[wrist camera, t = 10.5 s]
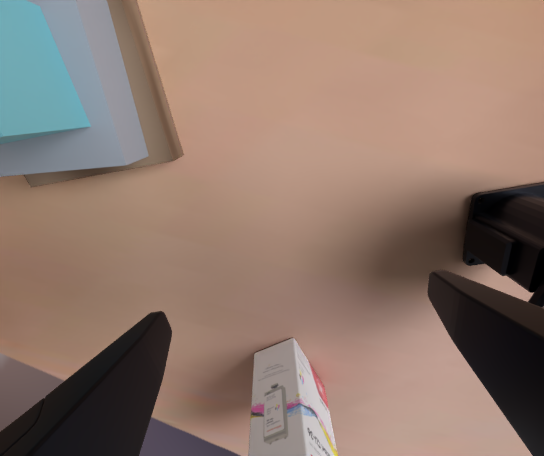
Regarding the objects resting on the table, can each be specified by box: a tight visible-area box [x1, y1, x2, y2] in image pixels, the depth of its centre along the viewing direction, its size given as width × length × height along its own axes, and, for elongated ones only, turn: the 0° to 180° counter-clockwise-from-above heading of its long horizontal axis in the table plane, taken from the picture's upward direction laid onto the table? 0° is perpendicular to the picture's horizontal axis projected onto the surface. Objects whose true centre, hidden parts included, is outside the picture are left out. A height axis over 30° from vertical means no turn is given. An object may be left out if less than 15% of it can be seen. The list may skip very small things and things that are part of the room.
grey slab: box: [0, 0, 149, 177], centre depth 14 cm, size 8×8×3 cm
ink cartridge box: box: [248, 338, 338, 456], centre depth 22 cm, size 9×5×15 cm, turn 27°
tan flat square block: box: [24, 0, 184, 187], centre depth 17 cm, size 10×10×3 cm
